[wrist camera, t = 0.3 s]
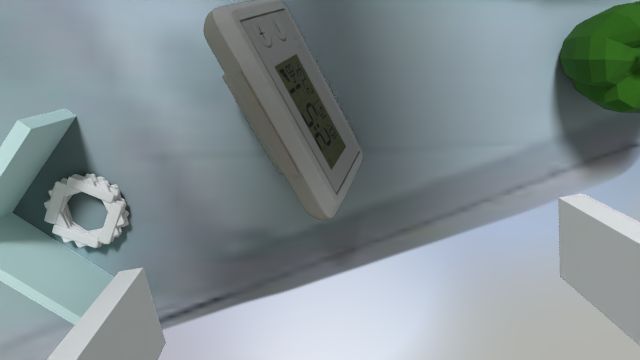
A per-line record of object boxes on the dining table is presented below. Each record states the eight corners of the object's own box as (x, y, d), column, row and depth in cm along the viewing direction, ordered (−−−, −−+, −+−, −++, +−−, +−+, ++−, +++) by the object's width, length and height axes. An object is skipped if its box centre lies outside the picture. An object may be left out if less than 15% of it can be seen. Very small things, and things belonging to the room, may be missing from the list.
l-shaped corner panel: (114, 282, 44) (78, 327, 37) (0, 210, 42) (-62, 243, 35) (184, 188, 42) (161, 217, 35) (68, 107, 40) (17, 120, 33)
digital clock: (366, 168, 42) (387, 206, 32) (272, 197, 42) (263, 243, 32) (314, -16, 38) (319, -40, 27) (209, 18, 38) (176, 6, 28)
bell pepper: (657, 58, 40) (769, 61, 31) (578, 121, 41) (662, 142, 32) (607, -19, 38) (710, -43, 29) (526, 49, 40) (599, 48, 30)
